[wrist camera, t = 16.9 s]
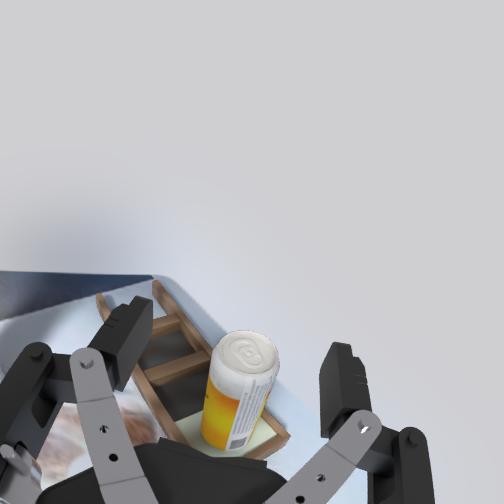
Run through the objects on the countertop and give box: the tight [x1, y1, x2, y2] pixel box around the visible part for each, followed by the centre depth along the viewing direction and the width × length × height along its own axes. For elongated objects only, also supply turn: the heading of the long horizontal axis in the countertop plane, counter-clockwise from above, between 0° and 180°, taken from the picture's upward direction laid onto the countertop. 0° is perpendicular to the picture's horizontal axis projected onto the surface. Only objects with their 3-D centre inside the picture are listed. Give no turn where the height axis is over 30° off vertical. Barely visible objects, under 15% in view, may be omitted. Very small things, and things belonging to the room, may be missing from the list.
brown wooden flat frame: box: [96, 280, 291, 460], centre depth 43 cm, size 36×12×3 cm, turn 38°
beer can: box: [201, 330, 280, 451], centre depth 31 cm, size 6×6×15 cm
